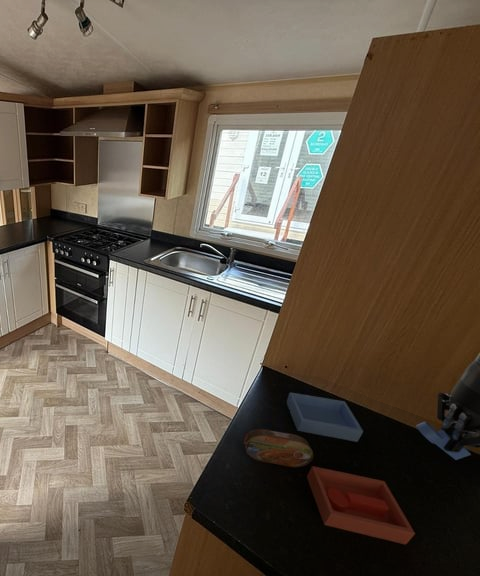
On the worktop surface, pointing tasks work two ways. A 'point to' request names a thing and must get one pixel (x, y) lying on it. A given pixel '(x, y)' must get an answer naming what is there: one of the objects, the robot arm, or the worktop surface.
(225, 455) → the worktop surface
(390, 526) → the terracotta bin
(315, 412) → the blue bin
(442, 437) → the blue spoon
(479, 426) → the robot arm
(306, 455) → the tin
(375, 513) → the red spoon
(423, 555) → the worktop surface
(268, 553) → the worktop surface
